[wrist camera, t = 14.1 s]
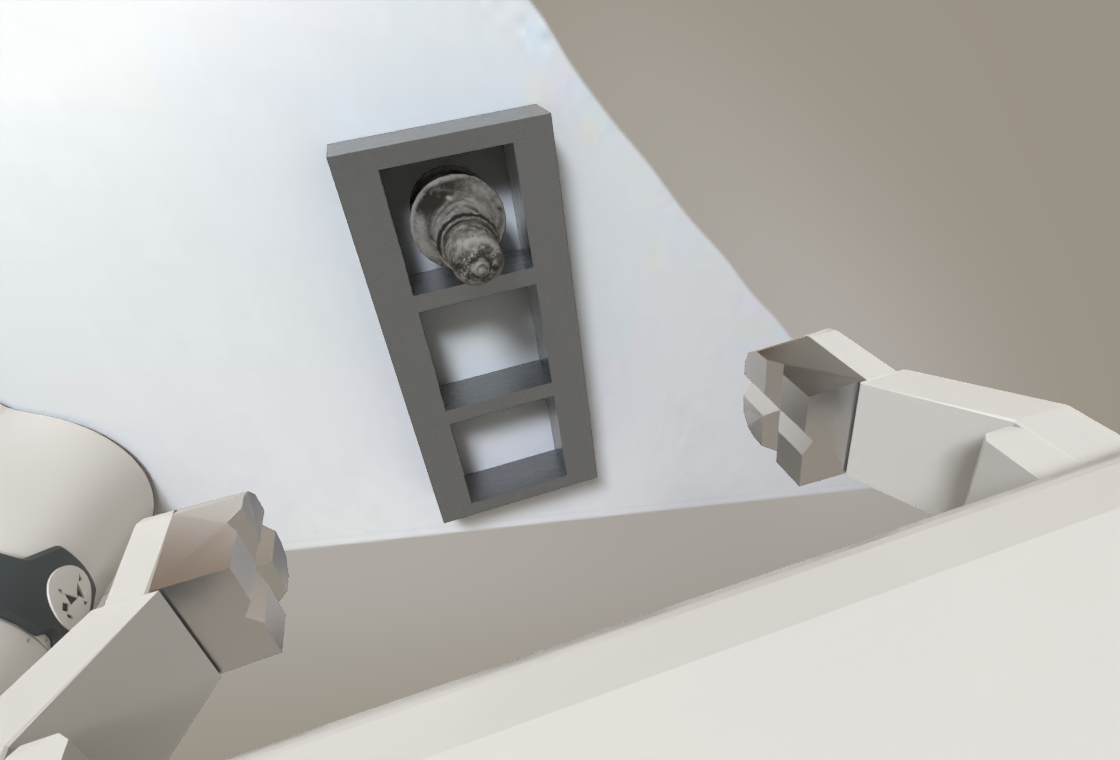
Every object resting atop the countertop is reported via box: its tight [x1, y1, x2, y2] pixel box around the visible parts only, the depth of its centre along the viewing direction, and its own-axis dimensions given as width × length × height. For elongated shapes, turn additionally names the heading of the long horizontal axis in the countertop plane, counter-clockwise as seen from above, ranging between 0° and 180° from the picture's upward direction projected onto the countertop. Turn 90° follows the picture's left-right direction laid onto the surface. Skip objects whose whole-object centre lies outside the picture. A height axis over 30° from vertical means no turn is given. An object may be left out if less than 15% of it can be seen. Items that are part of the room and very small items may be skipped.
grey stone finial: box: [410, 166, 506, 286], centre depth 37 cm, size 6×6×12 cm
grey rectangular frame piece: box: [326, 104, 597, 523], centre depth 46 cm, size 13×29×4 cm, turn 9°
